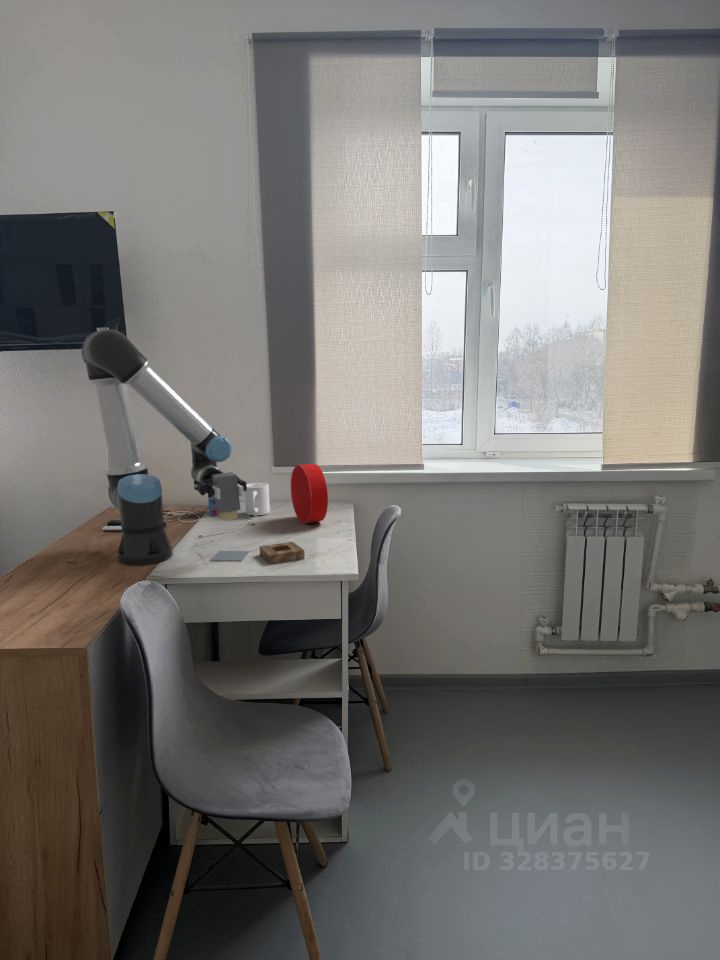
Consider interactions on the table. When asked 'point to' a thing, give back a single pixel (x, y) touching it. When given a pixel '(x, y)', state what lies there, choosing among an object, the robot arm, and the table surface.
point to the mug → (257, 499)
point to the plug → (227, 495)
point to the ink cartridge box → (212, 506)
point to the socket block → (281, 552)
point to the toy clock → (309, 493)
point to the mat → (230, 556)
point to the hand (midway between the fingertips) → (230, 493)
